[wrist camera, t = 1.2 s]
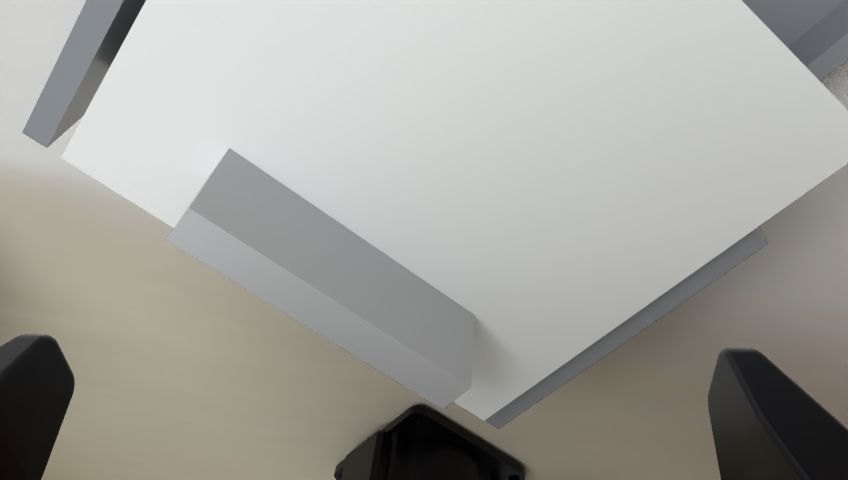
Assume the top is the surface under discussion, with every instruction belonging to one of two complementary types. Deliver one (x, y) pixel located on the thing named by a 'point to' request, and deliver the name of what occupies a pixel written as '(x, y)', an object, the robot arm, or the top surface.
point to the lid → (458, 164)
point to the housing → (821, 53)
